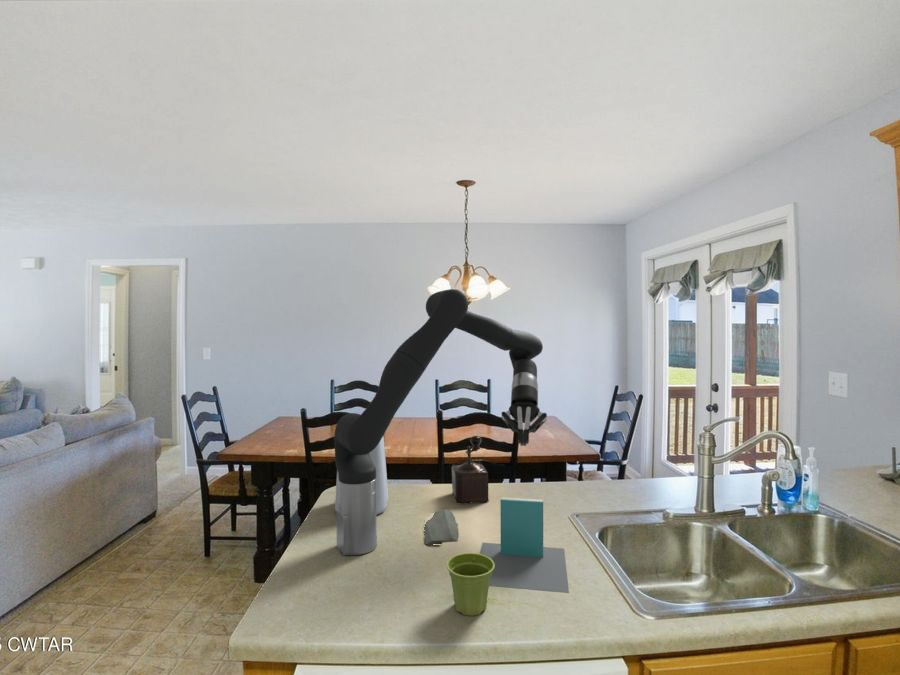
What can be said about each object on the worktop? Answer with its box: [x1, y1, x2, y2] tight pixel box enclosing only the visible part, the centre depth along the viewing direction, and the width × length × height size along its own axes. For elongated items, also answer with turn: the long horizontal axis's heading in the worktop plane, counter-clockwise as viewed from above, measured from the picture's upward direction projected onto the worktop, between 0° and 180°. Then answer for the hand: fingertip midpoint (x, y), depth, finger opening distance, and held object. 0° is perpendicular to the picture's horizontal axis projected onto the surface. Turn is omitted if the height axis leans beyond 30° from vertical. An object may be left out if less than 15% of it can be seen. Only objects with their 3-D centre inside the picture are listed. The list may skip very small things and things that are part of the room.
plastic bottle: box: [334, 434, 389, 516], centre depth 149 cm, size 15×15×28 cm
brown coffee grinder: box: [451, 435, 490, 504], centre depth 160 cm, size 16×11×18 cm
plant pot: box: [446, 552, 495, 617], centre depth 96 cm, size 9×9×9 cm
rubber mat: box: [479, 542, 570, 594], centre depth 111 cm, size 20×20×1 cm
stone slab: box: [423, 508, 460, 546], centre depth 135 cm, size 22×3×10 cm
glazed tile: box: [499, 496, 544, 557], centre depth 117 cm, size 2×10×13 cm, turn 80°
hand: (523, 444), depth 130 cm, fingers closed
